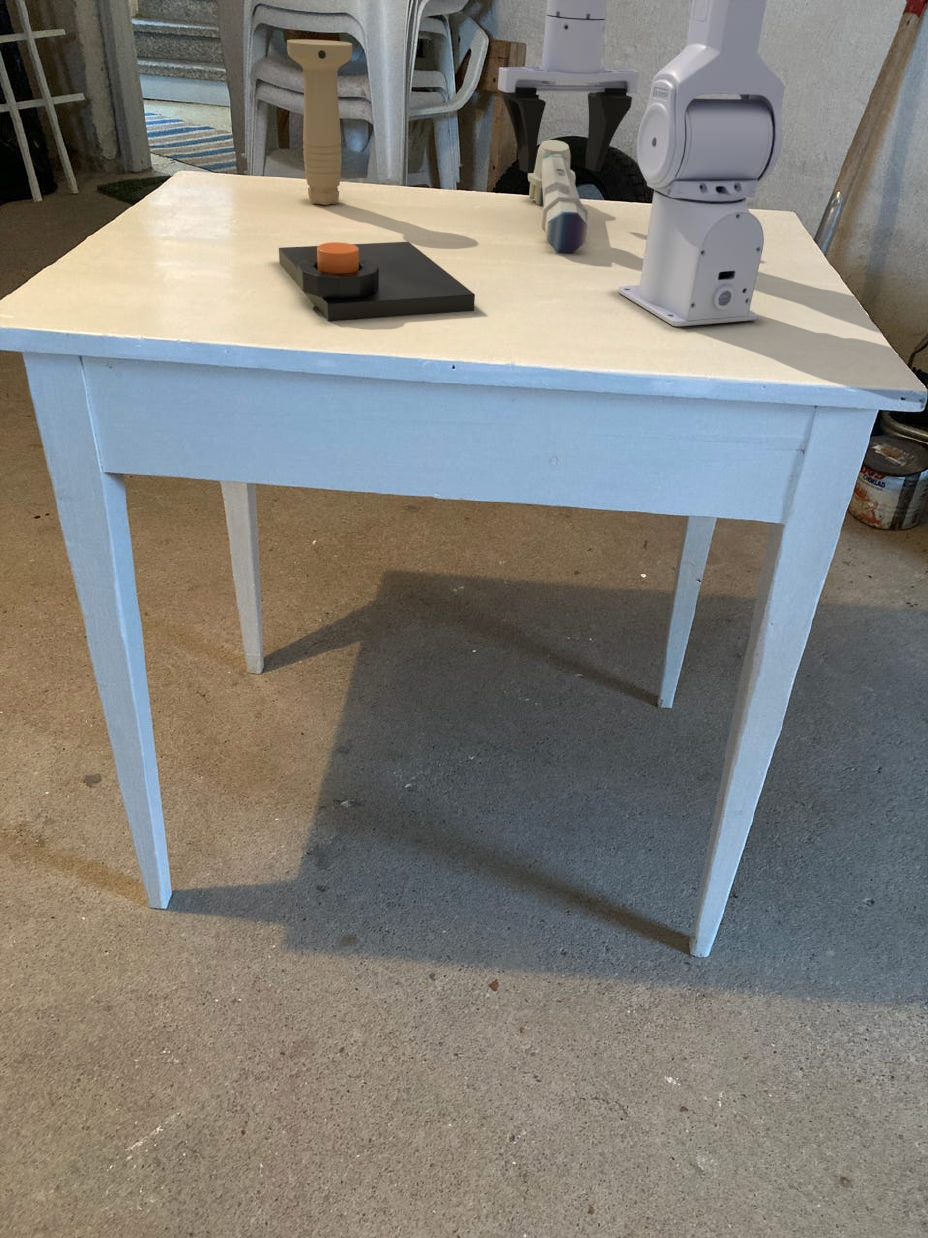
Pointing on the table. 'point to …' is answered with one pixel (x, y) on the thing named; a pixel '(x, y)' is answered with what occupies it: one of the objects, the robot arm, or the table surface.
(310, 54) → the handle
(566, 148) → the blue-tipped octagonal rod
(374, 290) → the scale
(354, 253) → the button
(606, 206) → the table surface
